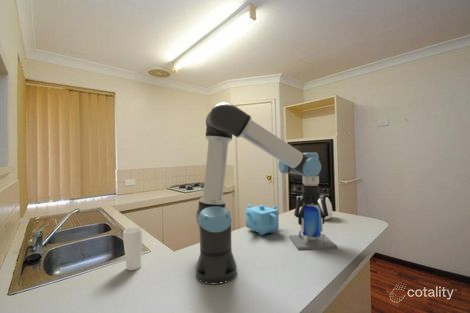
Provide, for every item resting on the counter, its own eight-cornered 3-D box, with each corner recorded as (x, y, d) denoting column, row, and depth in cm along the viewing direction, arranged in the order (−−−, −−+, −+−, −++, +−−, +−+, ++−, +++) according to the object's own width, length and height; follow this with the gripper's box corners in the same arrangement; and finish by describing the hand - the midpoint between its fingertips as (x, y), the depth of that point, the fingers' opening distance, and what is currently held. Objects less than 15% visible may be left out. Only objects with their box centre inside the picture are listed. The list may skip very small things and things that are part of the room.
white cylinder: (125, 265, 88) (123, 228, 88) (143, 261, 91) (142, 226, 90) (123, 274, 82) (122, 234, 81) (143, 269, 84) (142, 231, 84)
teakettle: (279, 238, 112) (278, 210, 111) (242, 236, 115) (242, 209, 115) (278, 226, 130) (278, 201, 130) (247, 225, 133) (246, 201, 133)
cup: (330, 222, 134) (330, 201, 134) (308, 219, 141) (308, 198, 141) (334, 217, 145) (333, 197, 145) (313, 214, 152) (313, 195, 152)
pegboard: (298, 249, 98) (297, 238, 98) (289, 237, 112) (289, 227, 112) (337, 248, 99) (336, 237, 99) (323, 236, 113) (323, 226, 113)
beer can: (322, 235, 107) (321, 203, 107) (318, 241, 100) (318, 206, 99) (305, 232, 111) (304, 201, 111) (300, 237, 104) (299, 204, 104)
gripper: (291, 186, 101) (291, 234, 101) (336, 185, 102) (336, 233, 102) (286, 183, 109) (287, 228, 109) (328, 182, 109) (329, 227, 110)
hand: (311, 230), depth 106 cm, fingers open, 8 cm apart
